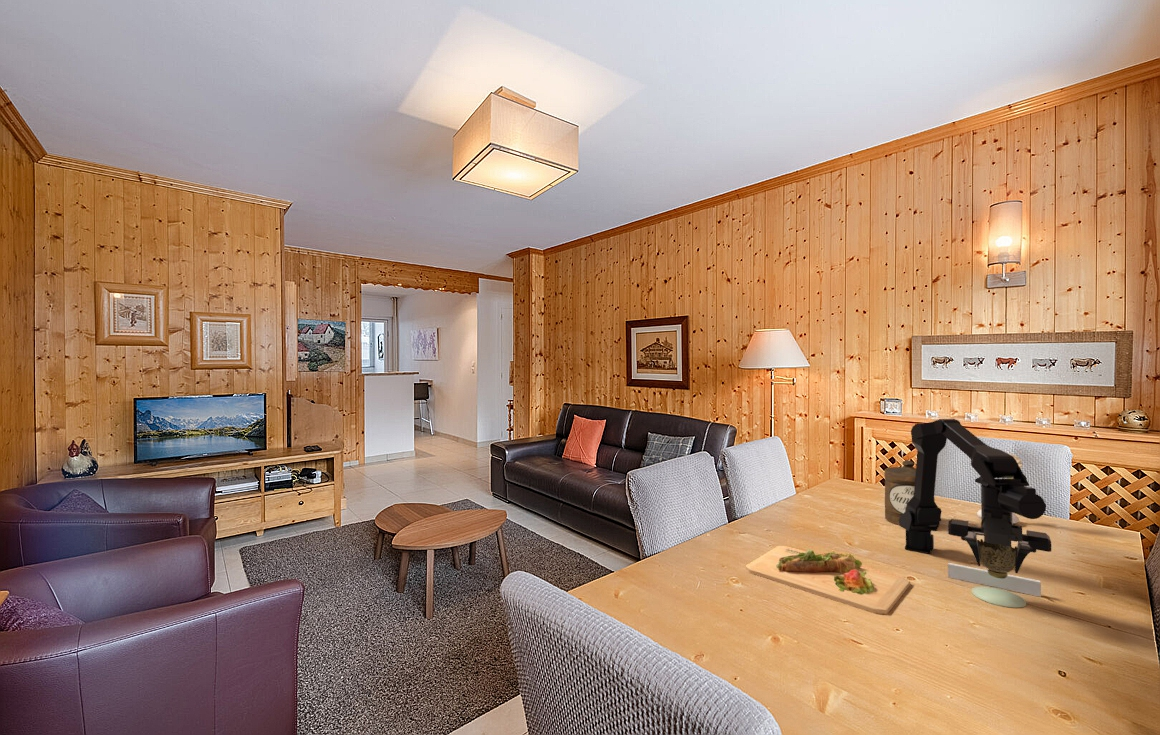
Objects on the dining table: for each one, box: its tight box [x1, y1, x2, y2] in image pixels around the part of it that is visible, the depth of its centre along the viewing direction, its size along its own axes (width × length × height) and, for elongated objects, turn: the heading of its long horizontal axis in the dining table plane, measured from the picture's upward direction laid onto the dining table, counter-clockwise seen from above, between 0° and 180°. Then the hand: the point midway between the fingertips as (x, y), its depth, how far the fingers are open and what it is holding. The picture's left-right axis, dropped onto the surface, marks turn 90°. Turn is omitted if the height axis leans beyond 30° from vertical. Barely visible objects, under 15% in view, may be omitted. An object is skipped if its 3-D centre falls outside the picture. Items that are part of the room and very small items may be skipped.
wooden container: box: [884, 459, 935, 526], centre depth 173 cm, size 15×15×22 cm
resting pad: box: [971, 586, 1027, 609], centre depth 117 cm, size 10×10×1 cm
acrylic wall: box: [947, 562, 1042, 598], centre depth 123 cm, size 18×1×4 cm, turn 50°
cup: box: [977, 538, 1018, 579], centre depth 117 cm, size 8×7×8 cm
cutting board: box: [745, 545, 911, 615], centre depth 131 cm, size 35×23×8 cm
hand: (997, 569), depth 117 cm, fingers closed on cup, 6 cm apart
